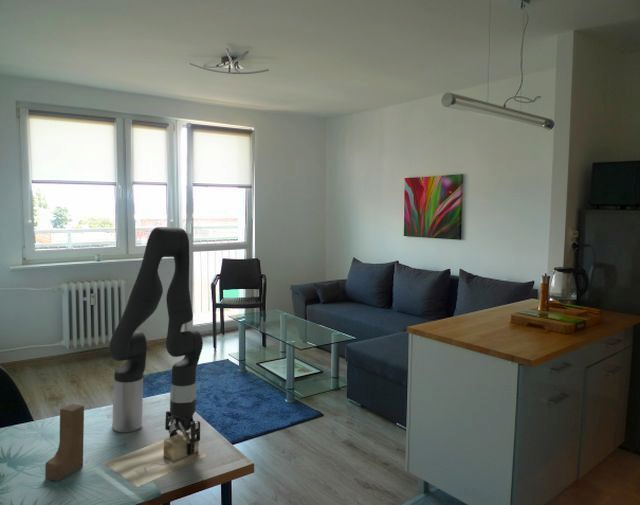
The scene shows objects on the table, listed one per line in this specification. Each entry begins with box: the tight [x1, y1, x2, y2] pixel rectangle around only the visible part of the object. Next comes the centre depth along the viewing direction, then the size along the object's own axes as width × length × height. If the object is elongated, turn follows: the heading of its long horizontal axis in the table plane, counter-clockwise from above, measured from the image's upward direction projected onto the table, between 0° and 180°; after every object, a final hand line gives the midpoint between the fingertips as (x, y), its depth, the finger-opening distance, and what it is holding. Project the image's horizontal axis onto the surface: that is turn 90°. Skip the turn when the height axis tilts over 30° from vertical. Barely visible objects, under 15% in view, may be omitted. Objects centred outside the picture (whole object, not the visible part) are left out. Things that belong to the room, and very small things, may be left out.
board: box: [103, 439, 208, 488], centre depth 139 cm, size 18×23×1 cm
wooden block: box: [44, 403, 85, 482], centre depth 131 cm, size 9×4×18 cm, turn 162°
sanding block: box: [163, 429, 200, 463], centre depth 142 cm, size 5×9×6 cm, turn 142°
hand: (181, 449), depth 142 cm, fingers open, 8 cm apart
